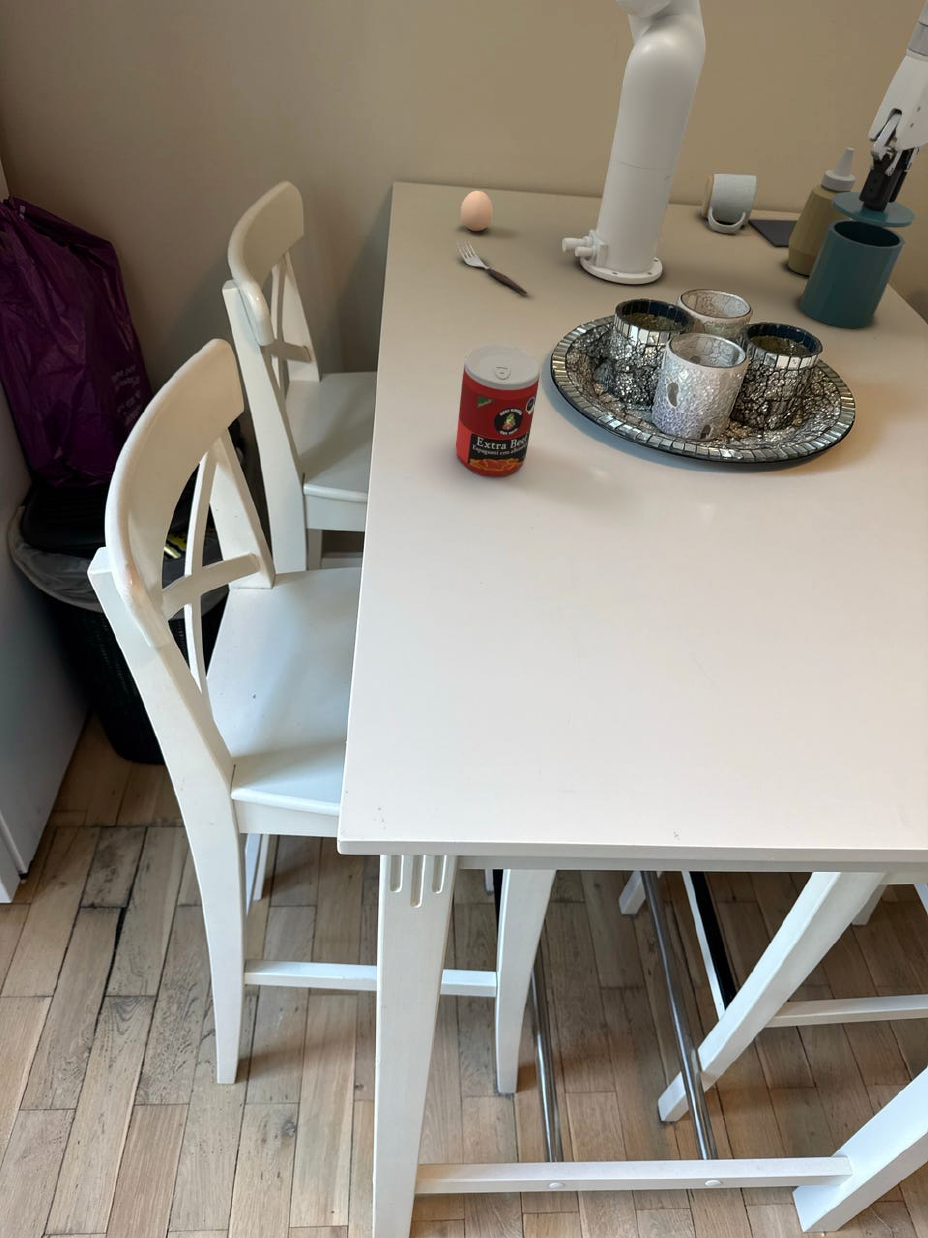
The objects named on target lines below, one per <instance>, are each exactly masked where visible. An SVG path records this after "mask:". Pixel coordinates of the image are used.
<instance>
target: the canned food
mask: <svg viewBox="0 0 928 1238" xmlns="http://www.w3.org/2000/svg"><path fill="white" fill-rule="evenodd" d="M462 372H463V373H462V379H461V381H462V382H461V389H460V390H461V391H460V400H459V412H458V422H457V430H456V441H455V450H456V455H457V459H458V460H459V462H460V463H461V464H462V466H464V467H465V468H466V469H468V470H469V471H472V472H473V473H476V474H479V475H483V476H489V477H501V476H502V477H503V476H506V475H511V474H513V473H514V472H516V471H517V470H519V469H520V467H521V466H522V465H523V464H524V461H525V459H526V457H527V451H528V446H529V440H530V435H531V431H532V423H533V418H534V412H535V407H536V400H537V395H538V389H539V382H540V376H541V365H540V364H539V362H538V360H537V359H536V358H535V357H534V356H533V355H531V354H530V353H528V352H526V351H524V350H523V349H519V348H517V347H513V346H508V345H500V344H492V345H490V344H489V345H483V346H479V347H476V348H474V349H472V350H471V351H469V352H468V353H467V355H466V356H465V361H464V365H463V371H462Z"/></svg>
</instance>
